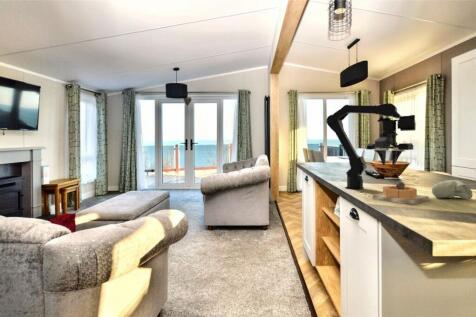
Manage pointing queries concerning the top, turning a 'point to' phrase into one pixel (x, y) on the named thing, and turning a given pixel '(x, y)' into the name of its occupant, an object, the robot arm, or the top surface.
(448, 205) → the top surface
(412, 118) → the robot arm
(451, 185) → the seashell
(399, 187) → the hook stand
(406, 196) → the orange ring
